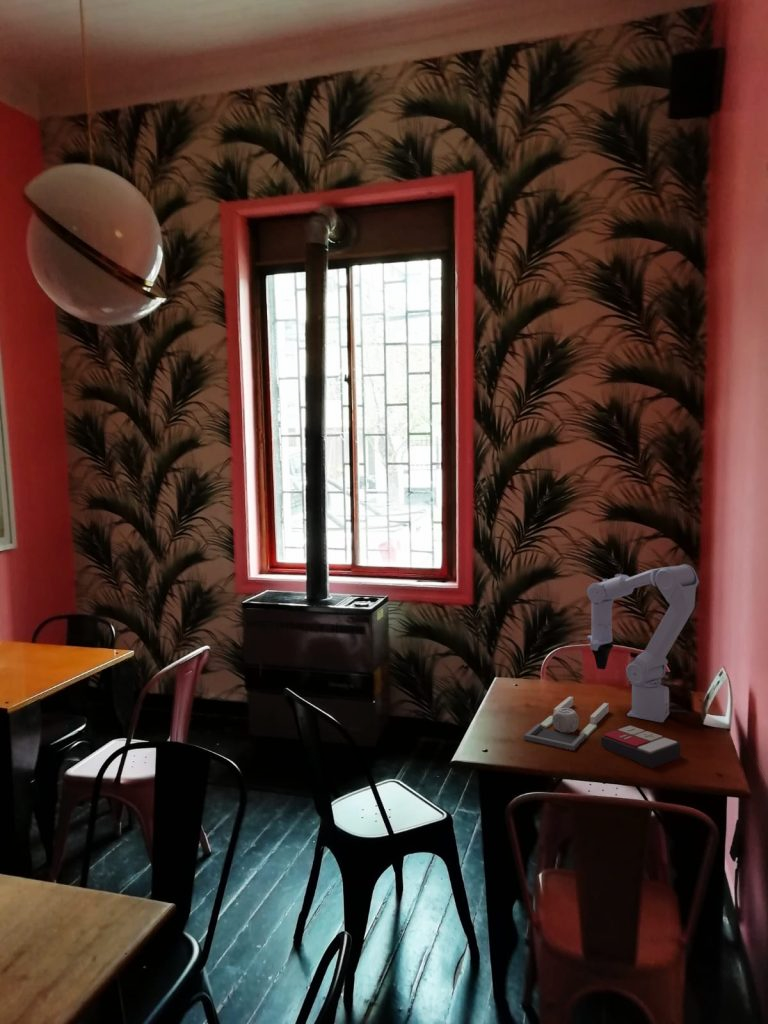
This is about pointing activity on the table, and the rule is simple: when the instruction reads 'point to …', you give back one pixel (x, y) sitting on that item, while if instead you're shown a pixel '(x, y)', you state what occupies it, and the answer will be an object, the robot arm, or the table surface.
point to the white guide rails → (595, 716)
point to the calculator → (641, 746)
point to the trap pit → (554, 738)
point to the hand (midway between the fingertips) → (601, 668)
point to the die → (565, 720)
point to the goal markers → (586, 730)
